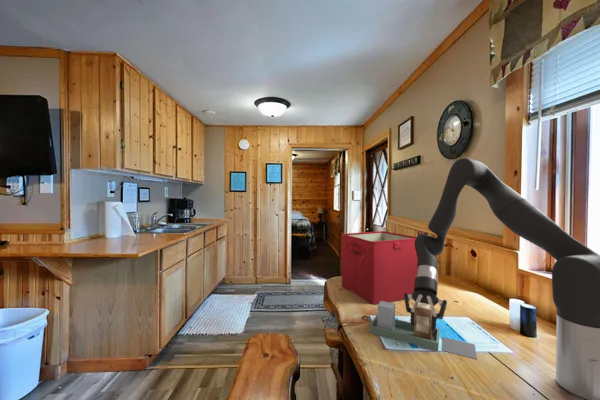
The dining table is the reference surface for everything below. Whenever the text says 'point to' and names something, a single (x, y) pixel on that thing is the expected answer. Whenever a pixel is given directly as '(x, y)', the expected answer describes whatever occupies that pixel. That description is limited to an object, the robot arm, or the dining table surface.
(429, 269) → the robot arm
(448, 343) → the slate pad
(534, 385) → the dining table surface
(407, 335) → the parts bin
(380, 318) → the plain box
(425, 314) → the label box
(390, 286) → the storage cube
